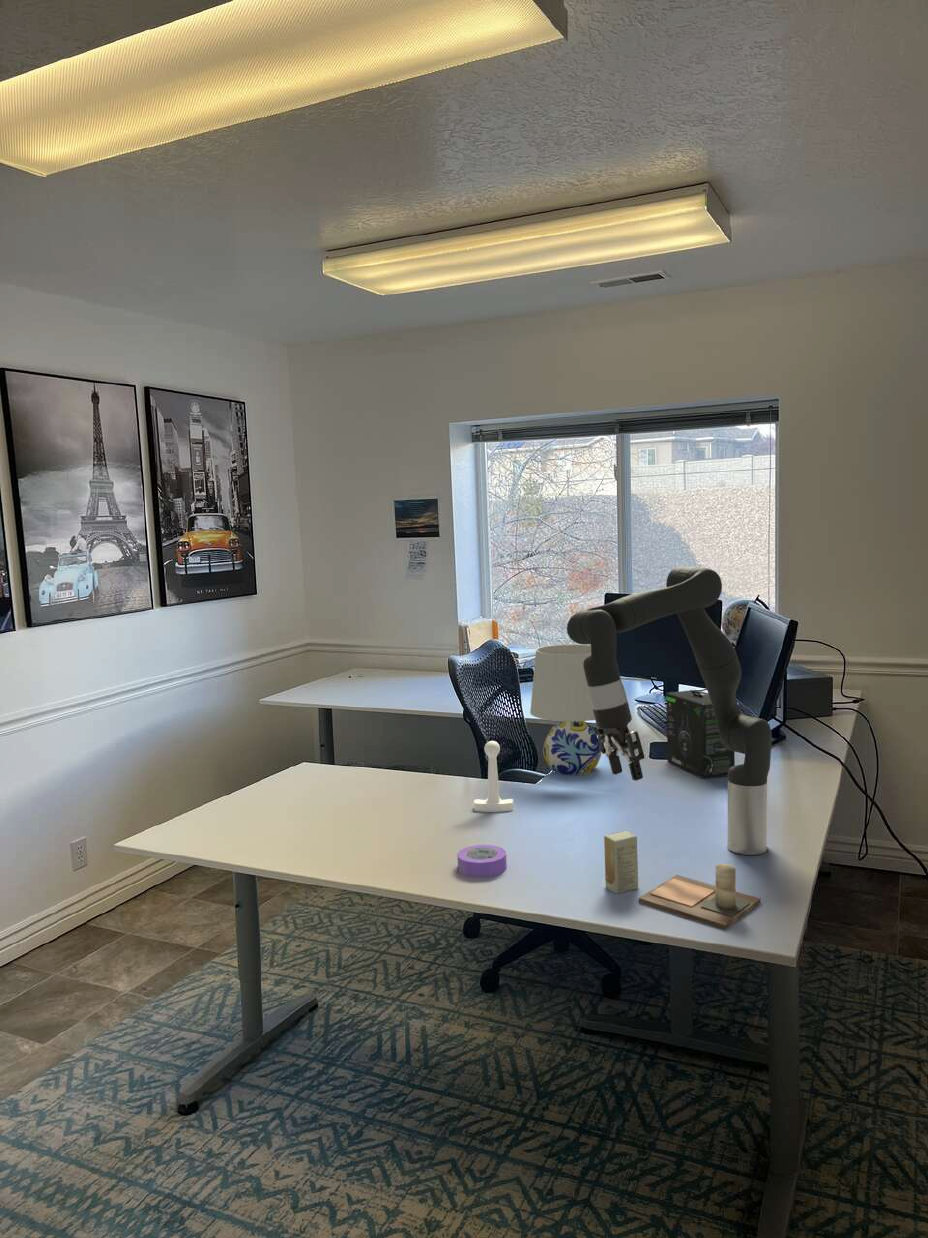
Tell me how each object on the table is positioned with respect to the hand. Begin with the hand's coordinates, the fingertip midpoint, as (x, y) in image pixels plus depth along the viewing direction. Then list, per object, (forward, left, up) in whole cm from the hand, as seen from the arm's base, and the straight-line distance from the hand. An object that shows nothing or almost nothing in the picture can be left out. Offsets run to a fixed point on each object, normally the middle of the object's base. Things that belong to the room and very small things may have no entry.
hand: (627, 776), depth 187 cm
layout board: (-9, +12, -28) cm, 32 cm away
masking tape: (+6, -37, -28) cm, 47 cm away
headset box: (-100, -37, -28) cm, 111 cm away
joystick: (-29, -64, -28) cm, 76 cm away
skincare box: (-5, -5, -28) cm, 29 cm away
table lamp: (-74, -69, -28) cm, 106 cm away
